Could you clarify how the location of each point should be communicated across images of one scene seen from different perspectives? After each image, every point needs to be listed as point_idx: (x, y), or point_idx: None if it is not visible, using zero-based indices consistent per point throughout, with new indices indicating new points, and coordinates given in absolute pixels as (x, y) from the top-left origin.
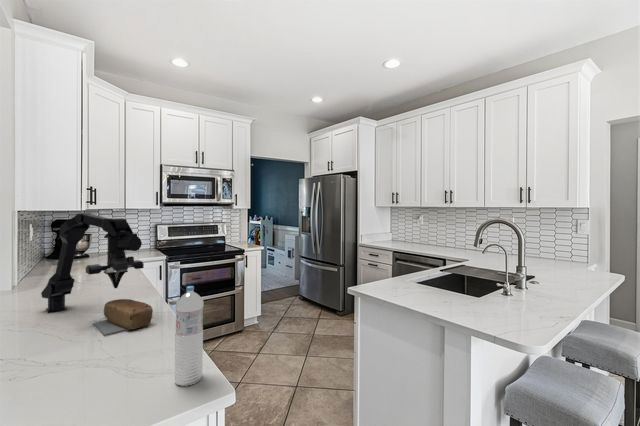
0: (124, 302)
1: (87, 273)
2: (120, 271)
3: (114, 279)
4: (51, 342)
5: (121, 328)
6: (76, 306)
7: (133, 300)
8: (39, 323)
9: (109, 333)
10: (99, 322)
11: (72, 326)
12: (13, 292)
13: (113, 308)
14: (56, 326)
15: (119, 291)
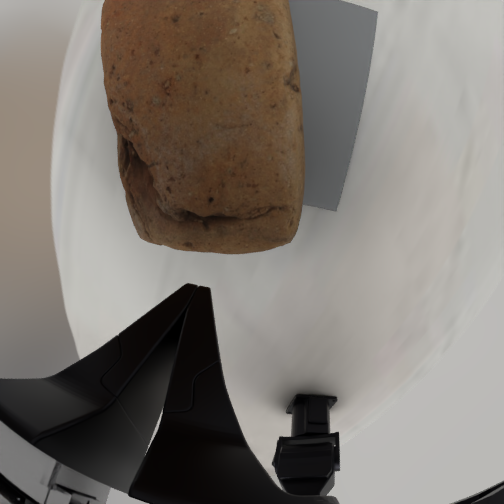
0: (200, 115)
1: (486, 489)
2: (42, 451)
3: (190, 373)
4: (492, 149)
5: (291, 14)
6: (267, 398)
7: (126, 179)
8: (399, 348)
9: (357, 5)
10: (319, 190)
11: (387, 252)
12: None
13: (299, 95)
14: (405, 294)
15: None
